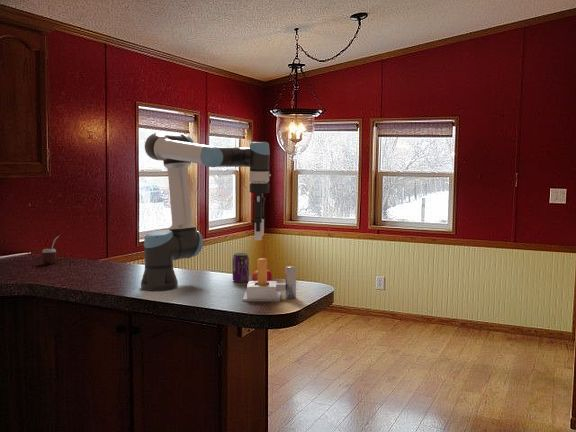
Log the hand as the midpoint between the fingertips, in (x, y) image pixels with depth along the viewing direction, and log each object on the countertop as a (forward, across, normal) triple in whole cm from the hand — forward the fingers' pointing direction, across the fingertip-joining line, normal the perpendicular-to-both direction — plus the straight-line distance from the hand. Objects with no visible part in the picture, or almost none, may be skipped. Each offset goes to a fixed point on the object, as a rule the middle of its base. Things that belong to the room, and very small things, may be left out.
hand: (259, 237), depth 232 cm
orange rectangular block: (+22, -3, -1) cm, 22 cm away
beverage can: (+24, +30, +10) cm, 40 cm away
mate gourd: (+25, +74, +113) cm, 137 cm away
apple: (+23, +16, 0) cm, 28 cm away
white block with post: (+23, -3, -4) cm, 23 cm away
